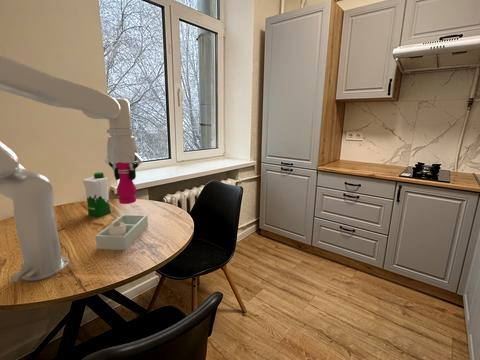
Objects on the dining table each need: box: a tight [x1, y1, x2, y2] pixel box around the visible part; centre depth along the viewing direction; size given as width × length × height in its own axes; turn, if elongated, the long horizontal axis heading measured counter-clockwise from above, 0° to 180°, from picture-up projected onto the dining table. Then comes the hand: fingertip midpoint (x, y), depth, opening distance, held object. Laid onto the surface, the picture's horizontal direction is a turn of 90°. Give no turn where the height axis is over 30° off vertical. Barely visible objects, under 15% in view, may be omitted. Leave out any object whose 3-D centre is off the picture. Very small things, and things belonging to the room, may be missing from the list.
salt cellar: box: [108, 221, 126, 236], centre depth 97 cm, size 6×6×8 cm
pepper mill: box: [116, 162, 138, 205], centre depth 102 cm, size 7×7×20 cm
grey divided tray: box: [95, 213, 149, 251], centre depth 102 cm, size 20×11×6 cm, turn 178°
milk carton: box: [82, 172, 112, 218], centre depth 125 cm, size 9×9×20 cm
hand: (125, 178), depth 102 cm, fingers closed on pepper mill, 5 cm apart
